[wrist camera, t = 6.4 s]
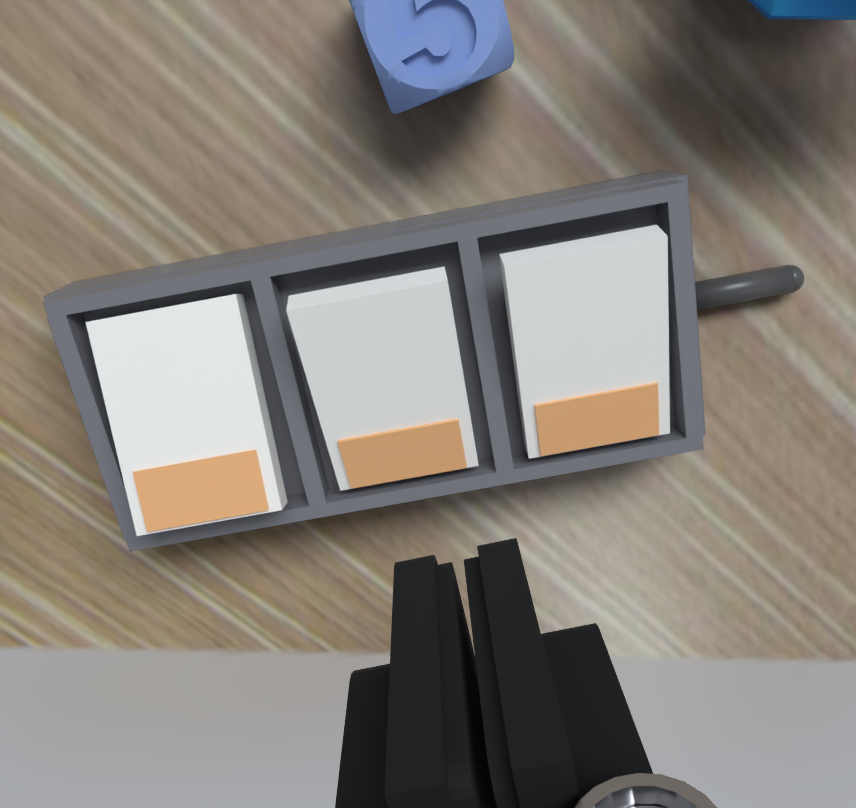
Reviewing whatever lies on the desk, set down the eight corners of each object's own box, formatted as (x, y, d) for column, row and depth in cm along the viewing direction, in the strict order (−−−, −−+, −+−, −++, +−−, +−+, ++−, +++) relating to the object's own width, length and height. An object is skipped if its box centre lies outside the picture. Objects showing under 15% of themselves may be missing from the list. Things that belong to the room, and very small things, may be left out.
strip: (792, 145, 27) (849, 148, 24) (798, 389, 30) (850, 424, 27) (73, 281, 28) (27, 304, 25) (148, 507, 31) (116, 555, 28)
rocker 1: (244, 294, 26) (234, 294, 25) (288, 500, 27) (281, 510, 26) (101, 321, 26) (83, 322, 25) (149, 525, 27) (135, 537, 26)
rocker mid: (443, 263, 24) (448, 282, 23) (474, 444, 28) (479, 468, 27) (289, 292, 24) (285, 312, 23) (340, 468, 28) (340, 493, 27)
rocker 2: (654, 222, 24) (669, 237, 23) (658, 414, 28) (671, 435, 27) (498, 251, 24) (505, 267, 23) (522, 439, 28) (529, 460, 27)
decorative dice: (464, -58, 25) (475, -90, 21) (505, 71, 26) (523, 61, 23) (346, -8, 26) (337, -31, 22) (393, 116, 27) (391, 114, 23)
